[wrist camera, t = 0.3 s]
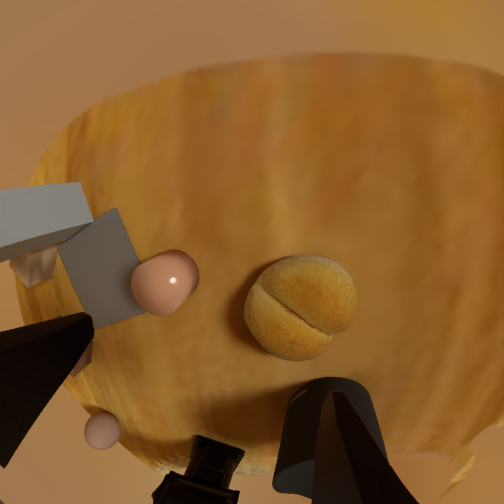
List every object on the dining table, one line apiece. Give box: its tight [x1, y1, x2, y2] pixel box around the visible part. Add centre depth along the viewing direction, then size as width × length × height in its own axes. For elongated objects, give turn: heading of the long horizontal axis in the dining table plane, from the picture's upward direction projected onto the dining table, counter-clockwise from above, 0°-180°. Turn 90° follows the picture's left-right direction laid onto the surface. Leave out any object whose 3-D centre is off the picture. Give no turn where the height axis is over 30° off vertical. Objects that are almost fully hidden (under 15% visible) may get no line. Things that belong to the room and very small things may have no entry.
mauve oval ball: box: [84, 412, 121, 450], centre depth 29 cm, size 5×5×7 cm
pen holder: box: [272, 377, 388, 499], centre depth 20 cm, size 9×9×10 cm
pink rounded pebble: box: [131, 249, 199, 316], centre depth 22 cm, size 4×4×4 cm
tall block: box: [0, 182, 94, 263], centre depth 18 cm, size 4×4×13 cm
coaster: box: [58, 208, 147, 329], centre depth 25 cm, size 10×10×1 cm
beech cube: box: [10, 244, 59, 288], centre depth 25 cm, size 4×4×4 cm
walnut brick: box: [55, 316, 93, 377], centre depth 27 cm, size 6×4×4 cm, turn 65°
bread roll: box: [244, 255, 358, 361], centre depth 21 cm, size 8×9×4 cm
